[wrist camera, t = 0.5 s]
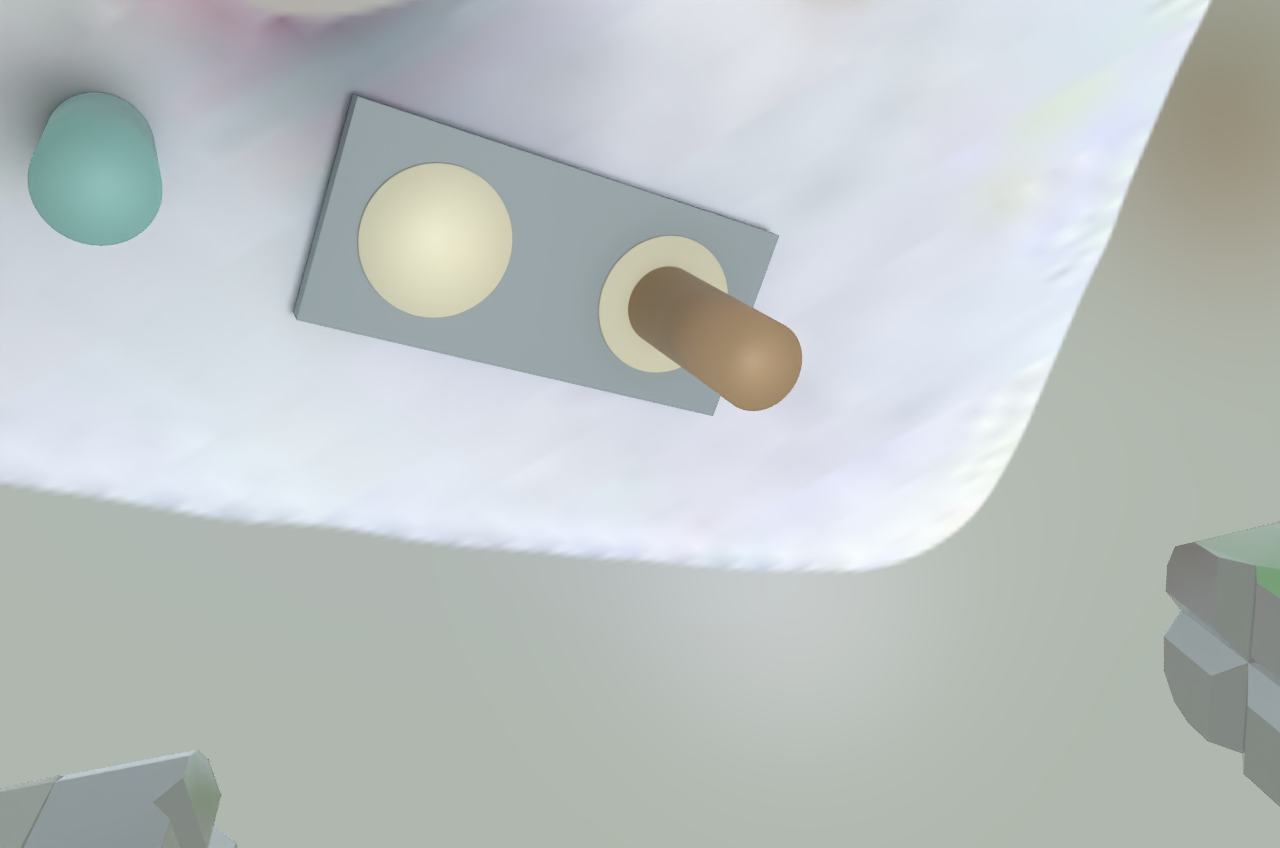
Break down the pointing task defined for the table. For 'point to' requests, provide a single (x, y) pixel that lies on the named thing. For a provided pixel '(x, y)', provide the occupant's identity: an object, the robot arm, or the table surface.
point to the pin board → (540, 268)
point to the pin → (96, 170)
